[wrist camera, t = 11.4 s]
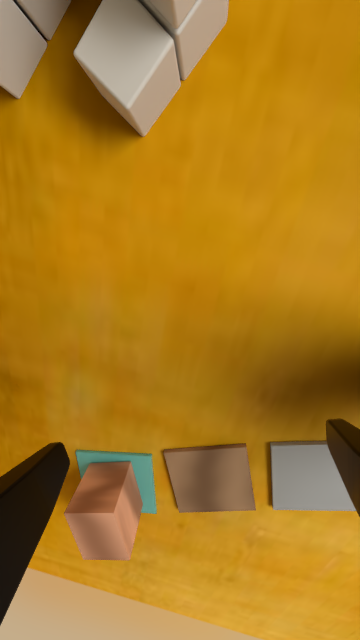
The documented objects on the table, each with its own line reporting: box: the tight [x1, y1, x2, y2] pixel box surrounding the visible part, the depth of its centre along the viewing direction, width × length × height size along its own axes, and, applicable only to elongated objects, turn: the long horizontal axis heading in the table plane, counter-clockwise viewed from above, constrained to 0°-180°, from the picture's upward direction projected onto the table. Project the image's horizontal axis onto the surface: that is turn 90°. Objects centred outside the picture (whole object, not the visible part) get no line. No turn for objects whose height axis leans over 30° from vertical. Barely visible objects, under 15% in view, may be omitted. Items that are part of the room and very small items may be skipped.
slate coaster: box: [270, 441, 356, 511], centre depth 24 cm, size 8×8×1 cm
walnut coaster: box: [164, 443, 256, 513], centre depth 25 cm, size 8×8×1 cm
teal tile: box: [76, 450, 157, 514], centre depth 27 cm, size 8×8×1 cm
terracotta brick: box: [64, 461, 143, 560], centre depth 24 cm, size 4×6×5 cm
